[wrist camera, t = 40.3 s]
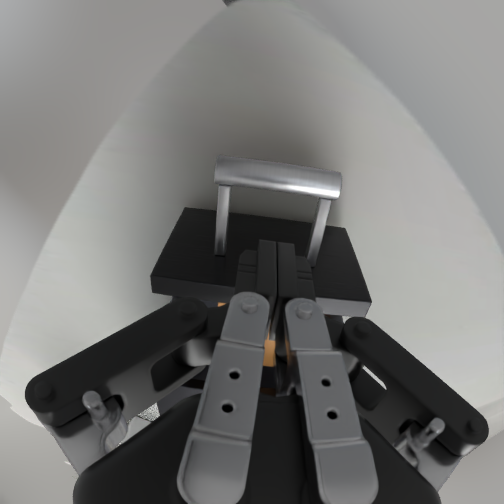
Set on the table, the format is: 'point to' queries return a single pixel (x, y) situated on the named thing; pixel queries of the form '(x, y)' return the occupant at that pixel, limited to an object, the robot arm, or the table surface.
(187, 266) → the drawer
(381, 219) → the table surface
